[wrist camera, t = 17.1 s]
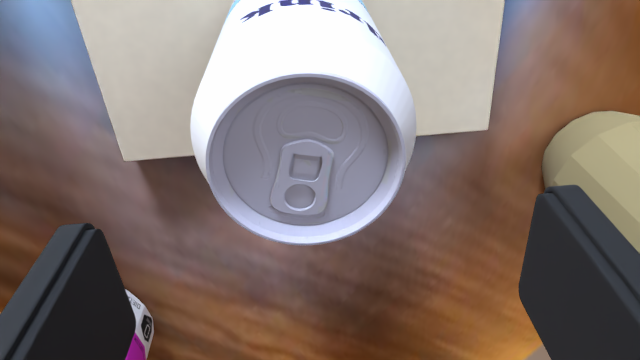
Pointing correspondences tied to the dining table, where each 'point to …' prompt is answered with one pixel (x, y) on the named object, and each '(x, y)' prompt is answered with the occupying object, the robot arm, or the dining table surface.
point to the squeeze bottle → (601, 165)
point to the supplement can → (140, 330)
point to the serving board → (203, 32)
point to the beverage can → (302, 120)
